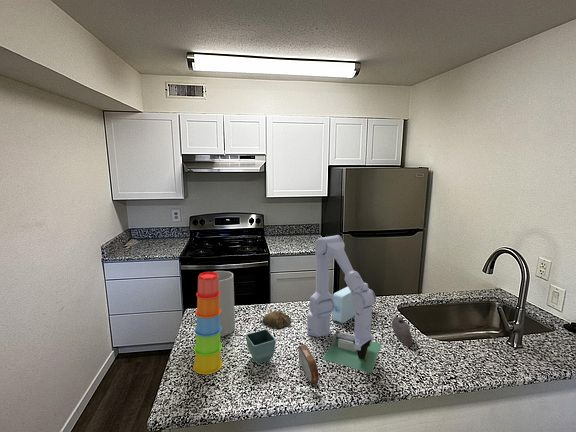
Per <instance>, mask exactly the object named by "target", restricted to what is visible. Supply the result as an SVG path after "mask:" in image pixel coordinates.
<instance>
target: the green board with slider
mask: <svg viewBox="0 0 576 432" xmlns="http://www.w3.org/2000/svg"><path fill="white" fill-rule="evenodd" d="M336 332H339V334H344V335H348V336H353V337H354V334H351V333H347V332H342V333H340V330H339V329H335V333H336ZM382 345H383V344H382V343H380V342H378V341H374V340H372V343H371V345H370V347H369V356H368V359H367V360H363V359H360V358H358V353H357V350H356V349H355V345H354V343H353V342H351V341H347V340H343V339H338V338H336V336H334V335H331V345H330V346H329V348H328V349H327V351H326V352H325V354H324V355H323V357H322V360H325V361H327V362H331V363H335V364H337V365H342V366H345V367H348V368H352V369H355V370H359V371H362V372H366V373H369V374H372V373H373V370H374V367H375V364H376V362H377V359H378V356H379V353H380V350H381V347H382Z"/></svg>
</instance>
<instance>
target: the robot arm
mask: <svg viewBox="0 0 576 432" xmlns="http://www.w3.org/2000/svg"><path fill="white" fill-rule="evenodd" d="M345 245H346V244H345V242H344V241H343V238H342V236H341V235H339V234H336V235H330V236H325V237H318V238H317V239H316V240H315V241H314V255H315V292H314V293H313V294H312V295H311V296H310V301H309V304H308V308H309V312H308V315H307V321H306V322H307V323H306V335H308V336H312V337H314V338H315V337H316V338H319V337H325V336H326V337H327V336H329V335H330V333H331V315H332V313H333V310H334V307H335V304H334V300H333V295H334V294H331V293H330V292H329V289H330V287H329V286H330V284H329V281H330V280H329V279H330V278H329V275H330V273H329V271H330V266H329V263H330V261H329V259H330V258H334V260H335V261H336V263H337V264H338V265H339V268H341V271H342V272H343V274H344V282H345V283H346V285H347V286H348V287H349V289H350V291H351V293H352V295H353V298H352V302H353V305H354V311H355V316H354V332H353V335H354V340H353V343H354V345H355V349H356V350H357V353H358V358H360V359H365V356H366V352H367V348H368V346H369V345H370V342H371V340H372V341H374V340H375V336H374V335H372V315H373V313H372V312H373V306H374V305H375V304H376V301H377V297H376V294H375V292H374V291H373V289H372V288H371V289H370V288H369V286H368V287H366V285H365V284H364V283H365V281H363V279H362V277H361V275H360V273H359V272H358V271H356V270H355V269H354V268H353V267H352V264H351V262H350V259H349V257H348V255H347V253H346V251H345ZM329 257H330V258H329Z"/></svg>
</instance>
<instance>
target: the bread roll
mask: <svg viewBox="0 0 576 432" xmlns="http://www.w3.org/2000/svg"><path fill="white" fill-rule="evenodd" d="M291 321H292V318H291V317H290V316H289V315H287V314H285V313H284V312H283V311H281V310H274V311H270V312H268V313H266V314H265V315H264V316H263V317H262V323H263V324H264V325H266V326H267V327H270V328H273V329H274V328H275V329H281V328H284V327H289V326H291Z"/></svg>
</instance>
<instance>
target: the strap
mask: <svg viewBox="0 0 576 432" xmlns="http://www.w3.org/2000/svg"><path fill="white" fill-rule="evenodd" d="M333 336H336V338H338V339H343V340H347V341H351V342H353V340H354V337H353V336H348V335H344V334H342V333H340V334H339V332H336V331H335V332H334V334H333ZM372 341H373V340H371V342H370V345H371V343H372ZM370 345H369V347H370Z"/></svg>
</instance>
